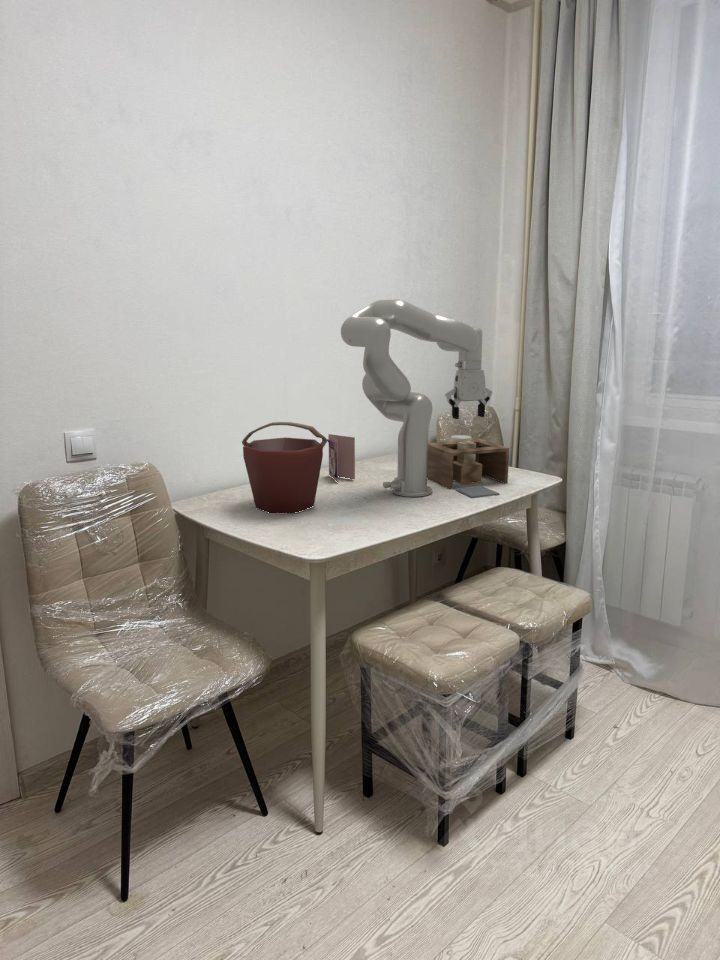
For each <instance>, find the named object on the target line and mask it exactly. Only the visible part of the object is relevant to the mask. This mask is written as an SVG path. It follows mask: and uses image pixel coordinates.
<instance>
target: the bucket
mask: <svg viewBox="0 0 720 960" xmlns="http://www.w3.org/2000/svg"><path fill="white" fill-rule="evenodd" d="M272 426H274V427H275V426H290V427H296V428H299V429H302V430H303V429H304V430H308V431H309V432H310V433H311V434H312V435H313V436H314V437H315V438H318V439H321V442H318V441H317V440H316V439H313V438H311V439H310V438H299V437H298V438H296V437H287V436H286V437H276V438H266V439H265V438H264V439H255V440H253V441H251V442H248V440H249V438H251V436H252V435H254V434H255V433H257V432H259V431H260V430H263V429H266V428H269V427H272ZM328 440H329V439H328ZM328 440H327V438H326V436H324V435H323V434H321V432H319V431H318V430H317V429H316V428H315V427H314V426H312V425H308V424H303V423H298V422H291V421H274V422H271V423H270V422H269V423H268V424H264V425H262V426H260V427H257V428H255V429H254V430H251V431H250V432H248V434H247V435H246V436H244V438H243V439H242V440H241V444H242V446H243V447H242V454H243V461H244V465H245V468H246V473H247V476H248V481H249V484H250V488H251V493H252V497H253V500H254V505H255V509H256V508H259V509H261V510H260V511H262V510H264V511H263V512H265V511H267V512H269V513H268V514H270V513H287V514H296V513H295V512H299V511H302V510H305V509H307V508H310V507H312V506H314V507H315V503H316V502H315V501H316V496H317V491H318V485H319V478H320V473H321V470H322V463H323V457H324V452H323V451H324V450H323V449H324V447H325V446H326V444H328ZM259 509H258V510H259ZM310 509H311V508H310ZM305 511H306V510H305ZM267 512H266V513H267ZM302 512H303V511H302ZM299 513H300V512H299Z"/></svg>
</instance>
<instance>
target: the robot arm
mask: <svg viewBox="0 0 720 960" xmlns="http://www.w3.org/2000/svg"><path fill="white" fill-rule="evenodd" d="M340 327H341V328H340V335H341V336H340V337H341V338H342V341H343V342H344V343H345V344H346V345H347V346H350V347H355V348H356V347H357V348H358V347H359V348H364V349H363V350H364V351H363V358H362V367H363V371H364V373H365V374H364V376H363V379H362V383H361V385H362V390H363V393H364V395H365V397H366V398H367V399H368V400H369V402H371V404H372V405H373V406H374V407H375V408H376V409H377V410H378V412H379V413H380V414H382V416H383V417H385V418H386V419H388V420H391V421H396V422H401V423H403V424H402V426H401V427H400V430H398V431H399V432H398V436H397V475H396V477H394V478H393V479H394V480H392V481H383V482H382V488H383V489H389V488H390V489H392V493H393V494H394V495H397V496H401V497H407V498H408V497H409V498H410V497H412V498H415V497H424V496H425V497H426V496H429V495H431V494H432V493H433V488H432V487H430V486H429V485H428V479H427V476H428V443H429V432H430V425H431V420H432V415H433V404H432V401H431V399H430V398H429V397H428V396H427V395H425V394H423V393H419V392H414V391H412V386H411V383H410V381H409V379H408V377H407V376H406V375H405V374H404V372H403V371H401V369H400V367H399V366H398V365H397V364H396V363H395V361H394V360H393V359H392V357H391V356H390V343H391V335H392V332H391V330H394V331H395V330H396V331H399V332H400V333H403V334H405V335H409V336H411V337H413V338H416V339H417V340H420V341H424V342H425V341H426V342H429V343H430V342H431V343H432V342H433V343H436V345H437V347H438V348H439V349H441V350H442V351H446V352H458V361H457V362H455V364H454V366H455V368H457V370H456V372H455V376H454V381H453V388H452V389H451V390H450V391H447V392H446V393H445V394H444V396H445V398H446V400H447V403H448V404H449V405H450V407H451V416H452V419H455V420H459V419H460V408H459V405H460V403H461V402H473V401H474V402H478V404H477V417H479V418H484V417H485V413H486V405H487V404H488V402H489V401H490V399H491V396H492V394H493V391H492V390H491V389H489V388H487V387H486V378H485V377H486V376H485V371H484V369H482V357H483V356H482V355H483V330H482V328H481V327H473V326H470V325H468V324H467V323H464V322H462V321H459V320H456V319H453V318H448V317H445V316H443V315H439V314H436V313H433V312H429V311H427V310H426V309H423V308H420V307H419V306H417V305H414V304H412V303H410V302H408V301H406V300H403V299H379V300H376V301H374V302H372V303H370V304H369V305H367V306H365V307H363V308H361V309H360V310H358V311H357V312H355V313H353V314H352V315H350V316H349V317H347V318H346V319H345V320H344V321H343V323H342V325H341V326H340ZM452 396H453V398H452Z"/></svg>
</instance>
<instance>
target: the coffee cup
mask: <svg viewBox="0 0 720 960" xmlns="http://www.w3.org/2000/svg"><path fill="white" fill-rule="evenodd" d="M462 440H473V437H472V436H471V435H468V434H466V435H464V434H456V435H451V436H450V437H449V441H462Z"/></svg>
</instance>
